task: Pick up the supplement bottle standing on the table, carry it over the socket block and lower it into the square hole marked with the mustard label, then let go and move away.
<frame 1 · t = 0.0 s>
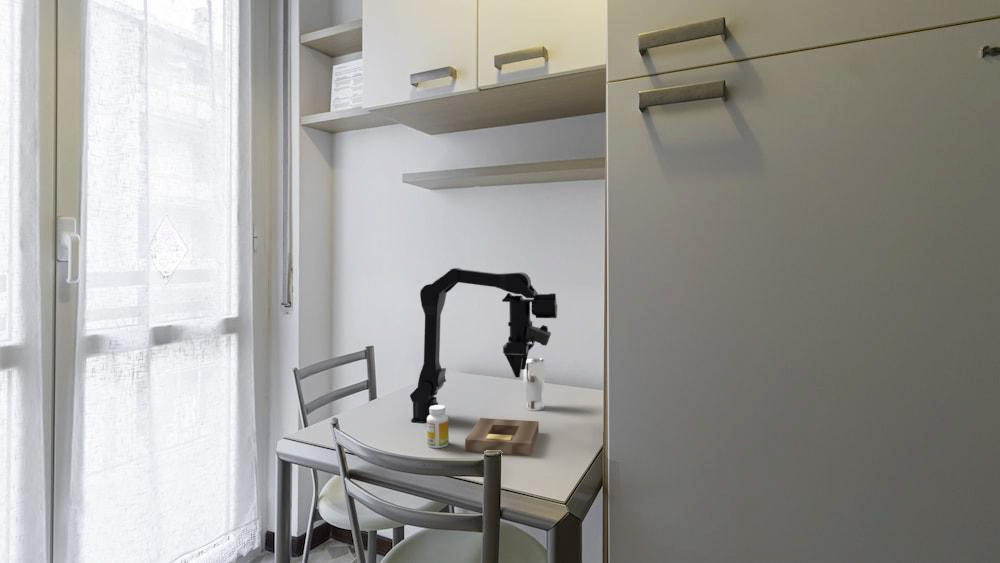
hand: (520, 373, 141), 15 cm above the table, tool pointing down, fingers open, 9 cm apart
beer glass: (534, 408, 157), on the table
socket block: (503, 441, 129), on the table
supplement bottle: (438, 445, 128), on the table
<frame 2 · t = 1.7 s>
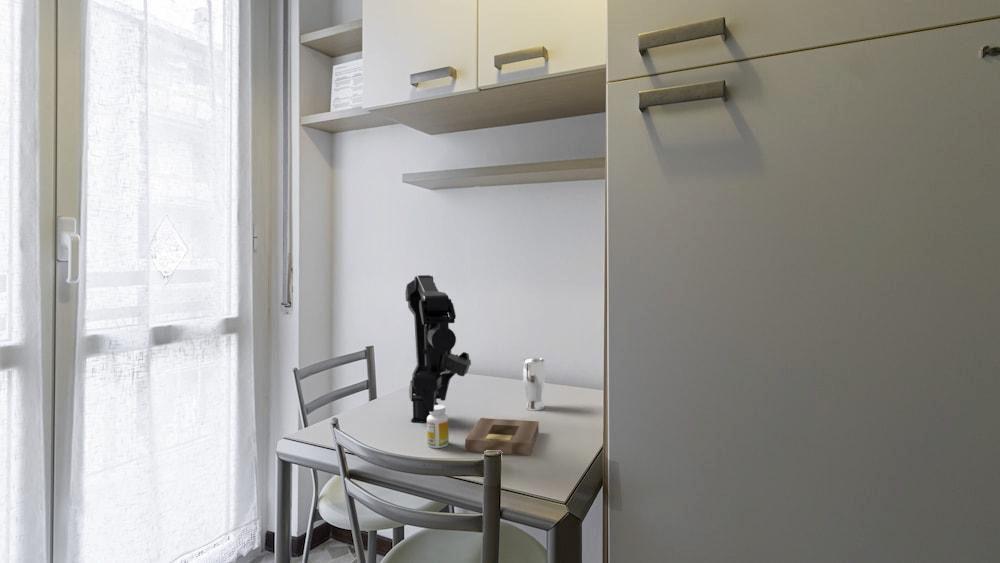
hand: (437, 405, 127), 10 cm above the table, tool pointing down, fingers open, 9 cm apart
nothing on the table moved.
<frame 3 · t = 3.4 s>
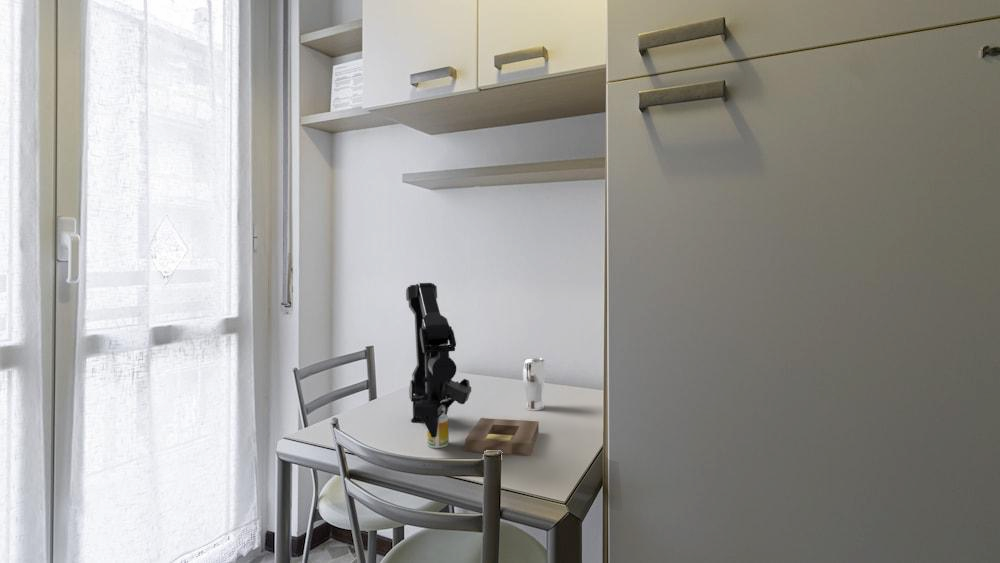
hand: (437, 432, 127), 3 cm above the table, tool pointing down, fingers closed on supplement bottle, 5 cm apart
supplement bottle: (438, 445, 128), on the table, touching gripper
everything else where it was.
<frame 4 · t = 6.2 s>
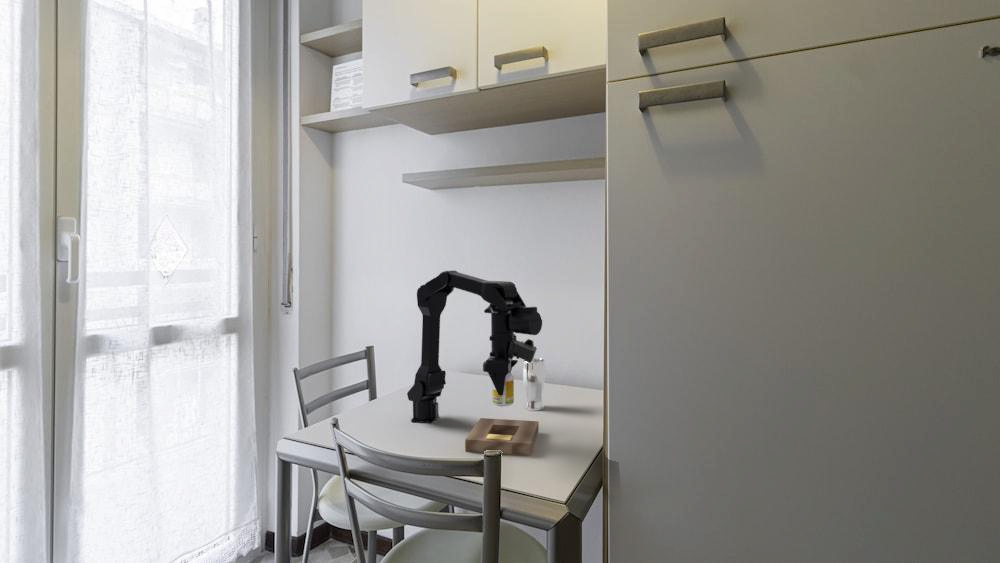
hand: (503, 391, 129), 13 cm above the table, tool pointing down, fingers closed on supplement bottle, 5 cm apart
supplement bottle: (503, 404, 129), point 10 cm above the table, touching gripper
everything else where it was.
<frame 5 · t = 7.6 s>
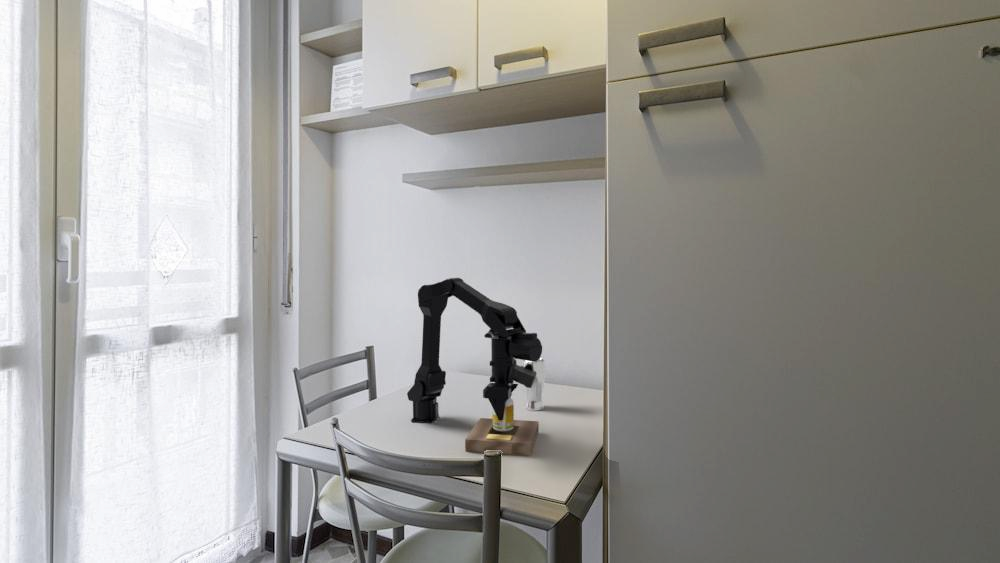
hand: (503, 416, 129), 6 cm above the table, tool pointing down, fingers closed on supplement bottle, 5 cm apart
supplement bottle: (503, 428, 129), point 3 cm above the table, touching gripper
everything else where it was.
when the fingers open (4 cm above the table, at t = 9.0 s): supplement bottle drops 1 cm, resting in socket block.
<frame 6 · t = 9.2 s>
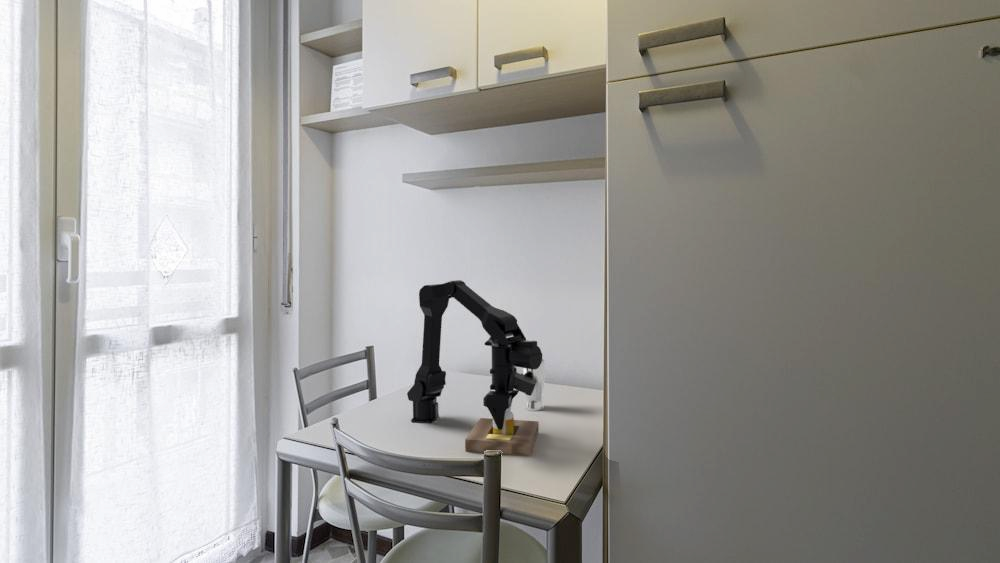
hand: (503, 424, 129), 4 cm above the table, tool pointing down, fingers open, 7 cm apart
supplement bottle: (503, 442, 129), resting in socket block
everything else where it was.
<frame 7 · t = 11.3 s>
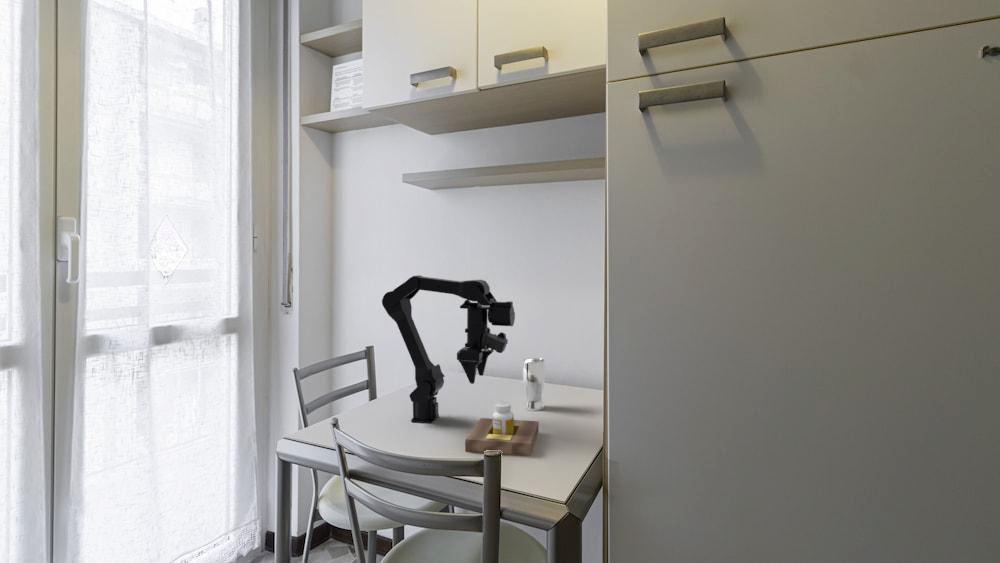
hand: (476, 379, 143), 13 cm above the table, tool pointing down, fingers open, 9 cm apart
nothing on the table moved.
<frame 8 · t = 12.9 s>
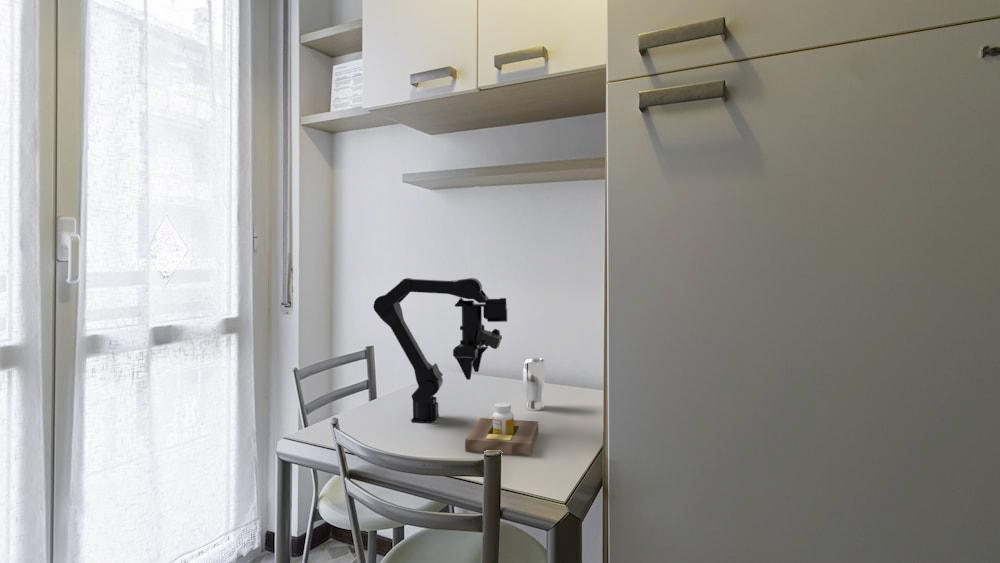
hand: (472, 375, 146), 13 cm above the table, tool pointing down, fingers open, 9 cm apart
nothing on the table moved.
at the end: supplement bottle 0.1 cm off-centre on the socket block, point 0.0 cm above the socket block's base; supplement bottle tilted 0°; the gripper is holding nothing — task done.
